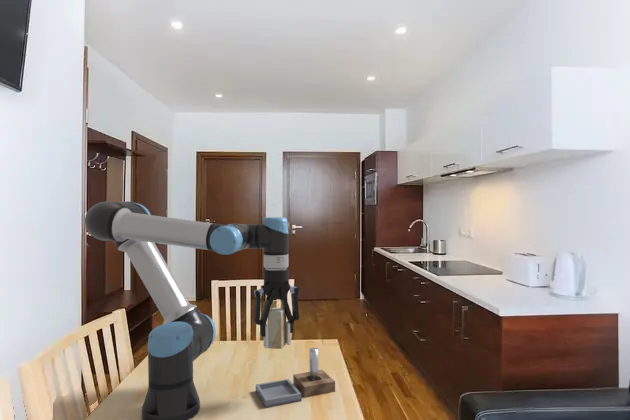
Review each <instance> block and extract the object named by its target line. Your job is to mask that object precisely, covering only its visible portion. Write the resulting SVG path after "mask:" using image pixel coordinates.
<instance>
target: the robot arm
mask: <svg viewBox="0 0 630 420" xmlns="http://www.w3.org/2000/svg"><path fill="white" fill-rule="evenodd" d="M150 212H151V211H149V209H148V208H147V207H146V206H144V205H142V204H141V203H137V202H133V201H108V200H107V201H101V202H97V203H96V204H94V205H92V206H91V207H90V208H89V209H88V210H87V212H86V214H85V216H84V226H85V229H86V231H87V232H88V234H89V235H90V236H91V237H93V238H94V239H96V240H99V241H103V242H104V241H106V242H107V241H111V242H113V243H114V245H115V247H116V248H117V250H118V251H119V252H124V253H126V255H127V256H128V259H129V260H130V262H131V263H132V265H133V267H134V269H135V270H136V273H137V274H138V276H139V277H140V280H141V281H142V283H143V285H144V286H145V288H146V290H147V292H148V294H149V295H150V297H151V298H152V300H153V302H154V304H155V305H156V307H157V309H158V311H159V312H160V314H161V316H162V319H163V323H162V324H159V325H157V326H156V327H155V328H153V329H152V330H151V331H150V332H149V334H148V337H147V338H148V339H147V340H148V342H147V348H146V349H147V362H148V363H147V364H148V366H147V370H148V376H147V377H148V389H147V391H146V394H145V396H144V397H145V398H144V401H143V404H142V407H141V420H191V419H192V418H193V417H195V416H196V415H198V413H199V412H200V409H201V400H200V399H201V398H200V396H199V393H198V390H197V389H196V388H197V387H196V385H195V383H194V362H195V361H196V360H197V358H199V357H200V356H201V355H202V354H204V353H205V352H207V351H208V350H209V348H210V347H211V345H212V344H213V343H214V340H215V338H216V326H215V322H214V321H213V319H212V318H211V317H210V316H208V315H207V314H204V313H201V310H200V309H199V308H198V306H197V305H196V304H192V303H190V302H189V300H188V299H187V298H188V297H186V295H185V294H184V291H183V290H182V288H181V286H180V284H179V283H178V281H177V279H176V278H175V276H174V274H173V273H172V271H171V269H170V267H169V265H168V264H167V262H166V260H165V259H164V257H163V255H162V254H161V252H160V250H159V248H158V246H157V245H156V244H161V245H169V246H175V247H184V248H189V249H190V248H191V249H198V250H206V251H210V252H211V251H212V252H215V253H216V254H219V255H223V256H224V255H228V256H229V255H233V254H234V253H237V252H240V251H243V250H246V249H248V250H250V249H251V250H254V249H255V250H256V249H259V250H261V249H262V250H263V268H264V269H263V285H262V287H261V288H259V289H254V290H253V294H254V311H253V312H254V314H253V322H254V323H255V324H256V325H257V326H260V327H259V329H260V333H259V335H260V336H261V337H263V347H264V348H265V349H269V348H268V315H269V311H270V309H272V304H273V302H274V301H276V300H280V302H281V305H282V308H284V309H285V314H286V345H287V346H291V334H292V333H294V323H295V321H298V320H299V319H300V314H299V313H300V312H299V300H298V299H299V298H298V297H299V296H298V294H299V291H300V289H299V287H297V286H295V285H294V286H291V284H290V271H289V269H288V267H289V234H290V233H289V232H290V231H289V226H288V225H289V223H288V221H289V220H288V219H287V218H286V217H283V216H281V217H280V216H278V217H277V216H276V217H275V216H274V217H273V216H272V217H270V216H269V217H264V218H263V219H262V223H229V224H221V223H212V222H204V221H197V220H191V219H182V218H175V217H169V216H168V217H167V216H161V215H160V216H159V215H152V214H151V213H150ZM289 292H290V295H291V309H290V305H289V303H288V297H287V295H288V293H289ZM263 293H264V294H265V295H266V297H265V302H264V306H263V309H262V313H261V307H262V296H263ZM291 310H292V311H291Z"/></svg>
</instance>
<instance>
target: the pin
mask: <svg viewBox="0 0 630 420" xmlns="http://www.w3.org/2000/svg"><path fill="white" fill-rule="evenodd" d="M308 350H309V351H308V352H309V361H308V362H309V372H310V381H315V380H319V370H320V369H319V348H318V347H310V348H309V349H308Z"/></svg>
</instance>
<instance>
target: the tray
mask: <svg viewBox="0 0 630 420" xmlns="http://www.w3.org/2000/svg"><path fill="white" fill-rule="evenodd" d="M255 392H256V394H257V395H258V397H259V399H260V400H261V402H262V404H263V406H264V407H265V408H271V407H276V406H282V405H286V404H291V403H296V402H301V401H302V394H301V392H300V391H299V390H298V389H297V388H296V386H295V385H294V384H293V382H292V381H291V380H290V379H289V378H286V379H279V380H273V381H269V382H262V383H257V384H255Z"/></svg>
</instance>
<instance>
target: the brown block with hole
mask: <svg viewBox="0 0 630 420" xmlns="http://www.w3.org/2000/svg"><path fill="white" fill-rule="evenodd" d="M292 377H293V379H292V381H293V382H292V384H293V385H294V386H295V387H296V388H297V390H298V391H299V392H300V393H301V396H303V397H304V398H306V397H308V398H309V397H312V396H313V397H314V396H317V395H322V394H328V393H333V392H332V391H334V392H335V391H336V381H335V380H334V379H333V378H332V377H331V376H330V375H329V374H327V372H326V371H325V370H323V369H319V380H315V381H310V371H308V372H301V373H295V374H293V376H292Z"/></svg>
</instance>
